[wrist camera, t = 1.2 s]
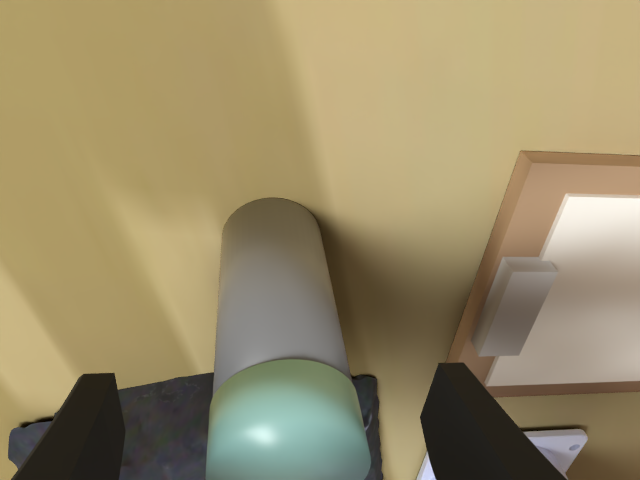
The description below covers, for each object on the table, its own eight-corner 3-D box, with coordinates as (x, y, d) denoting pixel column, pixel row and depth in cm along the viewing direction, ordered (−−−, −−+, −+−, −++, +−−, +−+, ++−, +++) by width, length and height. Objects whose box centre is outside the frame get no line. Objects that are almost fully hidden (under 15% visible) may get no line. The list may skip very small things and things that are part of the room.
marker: (316, 279, 18) (358, 509, 11) (220, 279, 17) (207, 520, 11) (327, 197, 16) (383, 418, 10) (219, 195, 16) (202, 426, 9)
